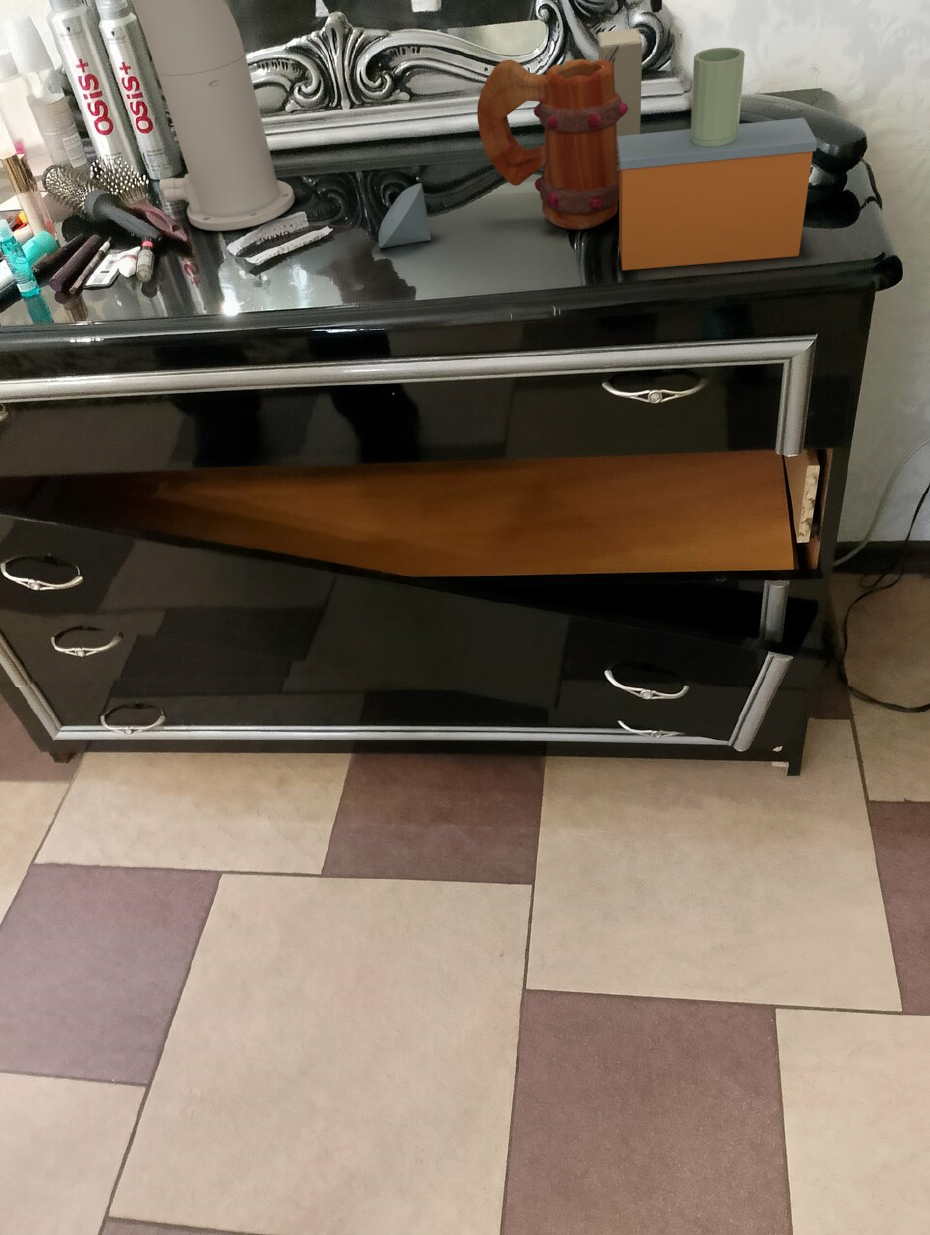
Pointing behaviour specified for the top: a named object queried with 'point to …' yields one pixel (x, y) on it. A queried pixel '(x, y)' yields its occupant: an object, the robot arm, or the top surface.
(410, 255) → the top surface
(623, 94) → the box
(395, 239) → the gemstone
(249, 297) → the top surface
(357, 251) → the top surface
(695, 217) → the container
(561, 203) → the mug
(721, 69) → the cup
